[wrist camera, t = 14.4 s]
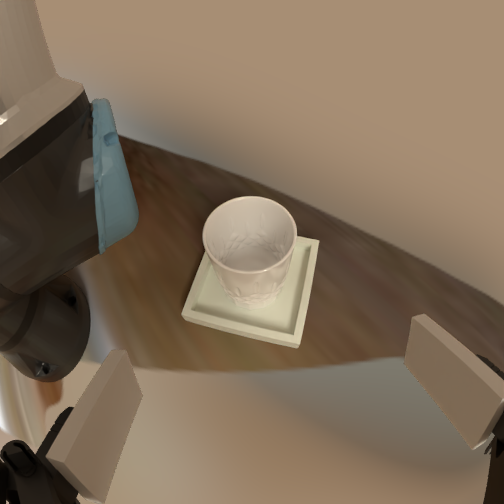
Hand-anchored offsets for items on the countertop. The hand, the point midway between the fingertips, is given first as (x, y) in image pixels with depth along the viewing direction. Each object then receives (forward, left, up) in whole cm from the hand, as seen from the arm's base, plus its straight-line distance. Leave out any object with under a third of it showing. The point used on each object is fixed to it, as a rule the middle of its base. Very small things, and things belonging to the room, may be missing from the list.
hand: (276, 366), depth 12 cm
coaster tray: (-4, +11, -18) cm, 21 cm away
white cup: (-4, +11, -17) cm, 21 cm away
